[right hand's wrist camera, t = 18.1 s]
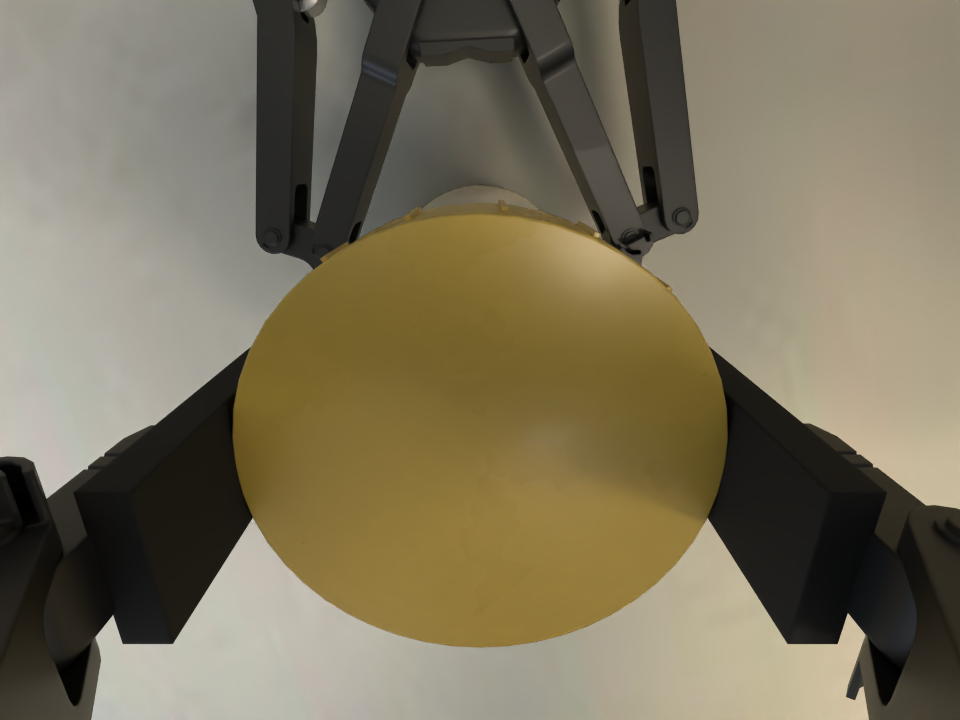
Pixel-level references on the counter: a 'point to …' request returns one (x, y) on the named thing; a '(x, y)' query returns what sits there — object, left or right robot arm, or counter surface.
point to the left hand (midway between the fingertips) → (485, 407)
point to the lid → (480, 427)
